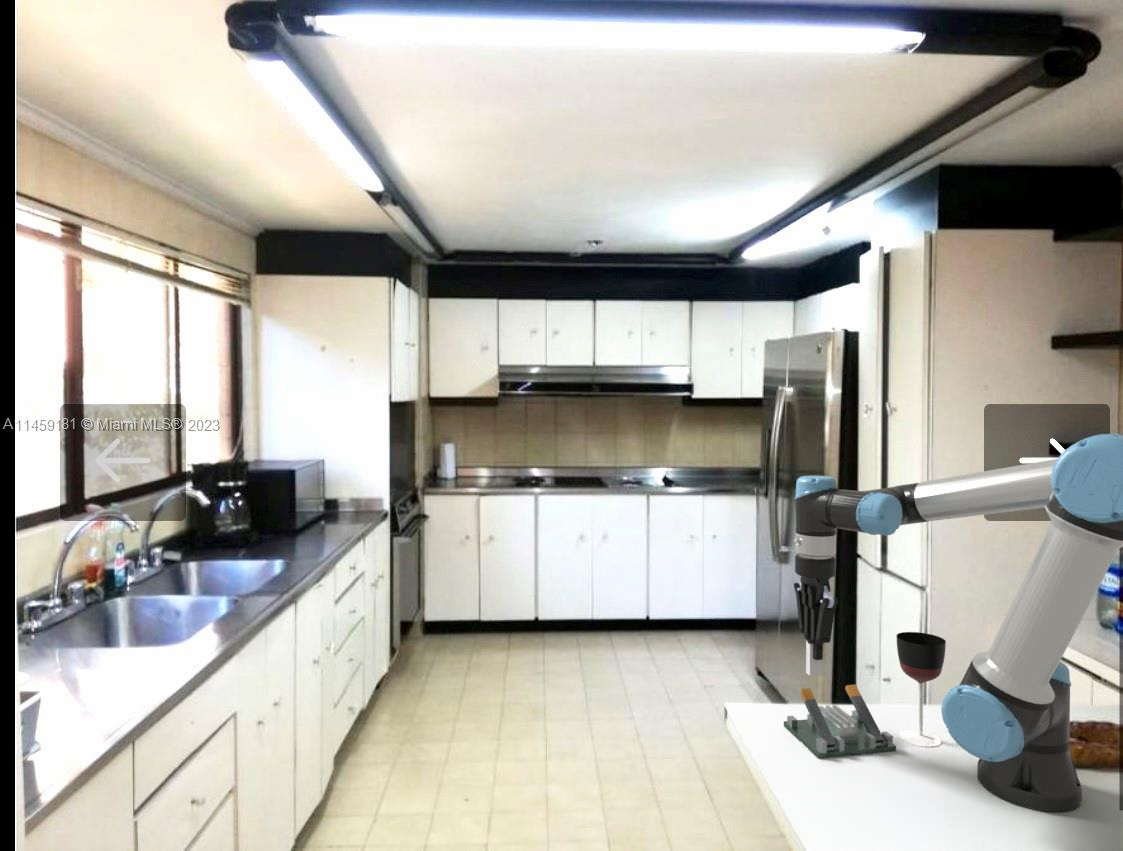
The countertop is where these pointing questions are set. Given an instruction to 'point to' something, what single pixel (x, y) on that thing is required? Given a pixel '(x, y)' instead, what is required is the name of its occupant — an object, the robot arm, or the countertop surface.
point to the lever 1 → (817, 717)
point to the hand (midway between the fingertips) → (814, 673)
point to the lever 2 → (864, 712)
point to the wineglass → (920, 673)
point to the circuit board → (838, 735)
